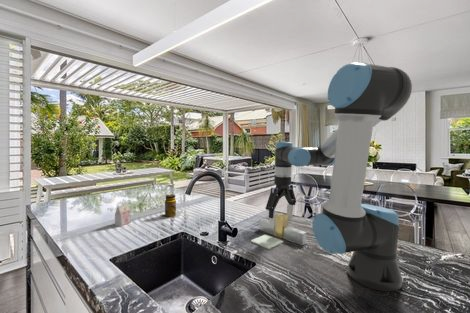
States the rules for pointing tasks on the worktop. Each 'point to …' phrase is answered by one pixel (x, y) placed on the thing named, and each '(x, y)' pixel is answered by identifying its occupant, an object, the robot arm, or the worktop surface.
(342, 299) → the worktop surface
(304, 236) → the rack rail
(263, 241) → the sage pad
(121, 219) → the milk carton
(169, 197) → the condiment
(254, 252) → the worktop surface
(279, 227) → the brass block
